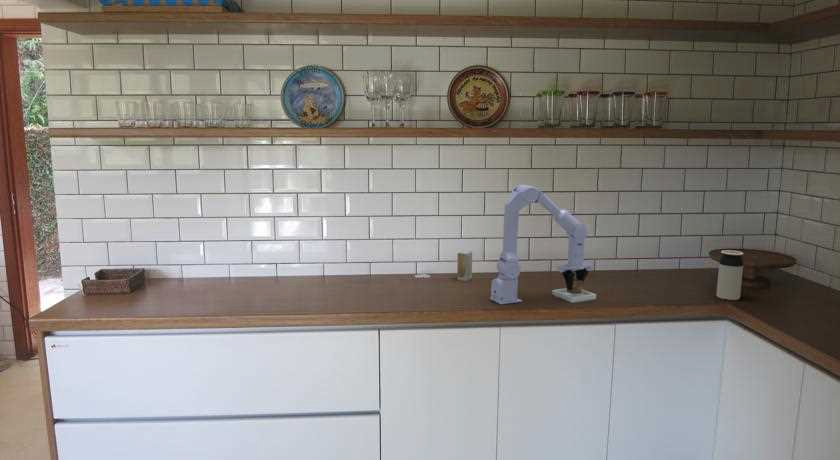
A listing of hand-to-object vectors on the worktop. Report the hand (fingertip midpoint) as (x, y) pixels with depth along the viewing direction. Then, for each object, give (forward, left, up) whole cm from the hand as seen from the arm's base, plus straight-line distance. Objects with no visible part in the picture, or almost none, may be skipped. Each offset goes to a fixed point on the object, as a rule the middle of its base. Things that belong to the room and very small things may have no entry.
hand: (574, 288), depth 212 cm
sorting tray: (0, 0, -3) cm, 3 cm away
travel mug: (+55, -23, -4) cm, 60 cm away
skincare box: (-26, +41, -4) cm, 49 cm away
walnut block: (0, 0, -2) cm, 2 cm away
